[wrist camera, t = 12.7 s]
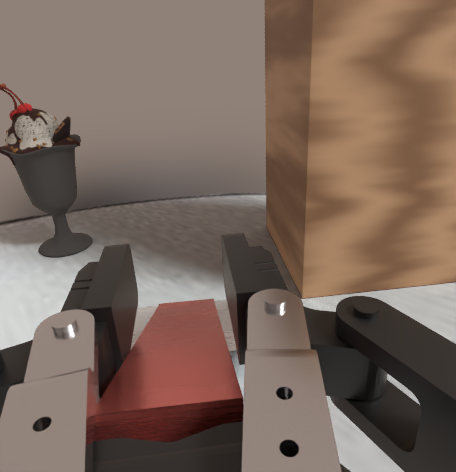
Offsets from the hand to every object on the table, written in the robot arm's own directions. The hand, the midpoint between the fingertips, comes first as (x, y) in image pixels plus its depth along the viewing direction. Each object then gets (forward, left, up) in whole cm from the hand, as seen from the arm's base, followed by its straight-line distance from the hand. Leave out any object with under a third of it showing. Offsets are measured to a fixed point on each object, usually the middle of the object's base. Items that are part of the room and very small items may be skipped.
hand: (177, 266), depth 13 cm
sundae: (-12, +25, -11) cm, 30 cm away
